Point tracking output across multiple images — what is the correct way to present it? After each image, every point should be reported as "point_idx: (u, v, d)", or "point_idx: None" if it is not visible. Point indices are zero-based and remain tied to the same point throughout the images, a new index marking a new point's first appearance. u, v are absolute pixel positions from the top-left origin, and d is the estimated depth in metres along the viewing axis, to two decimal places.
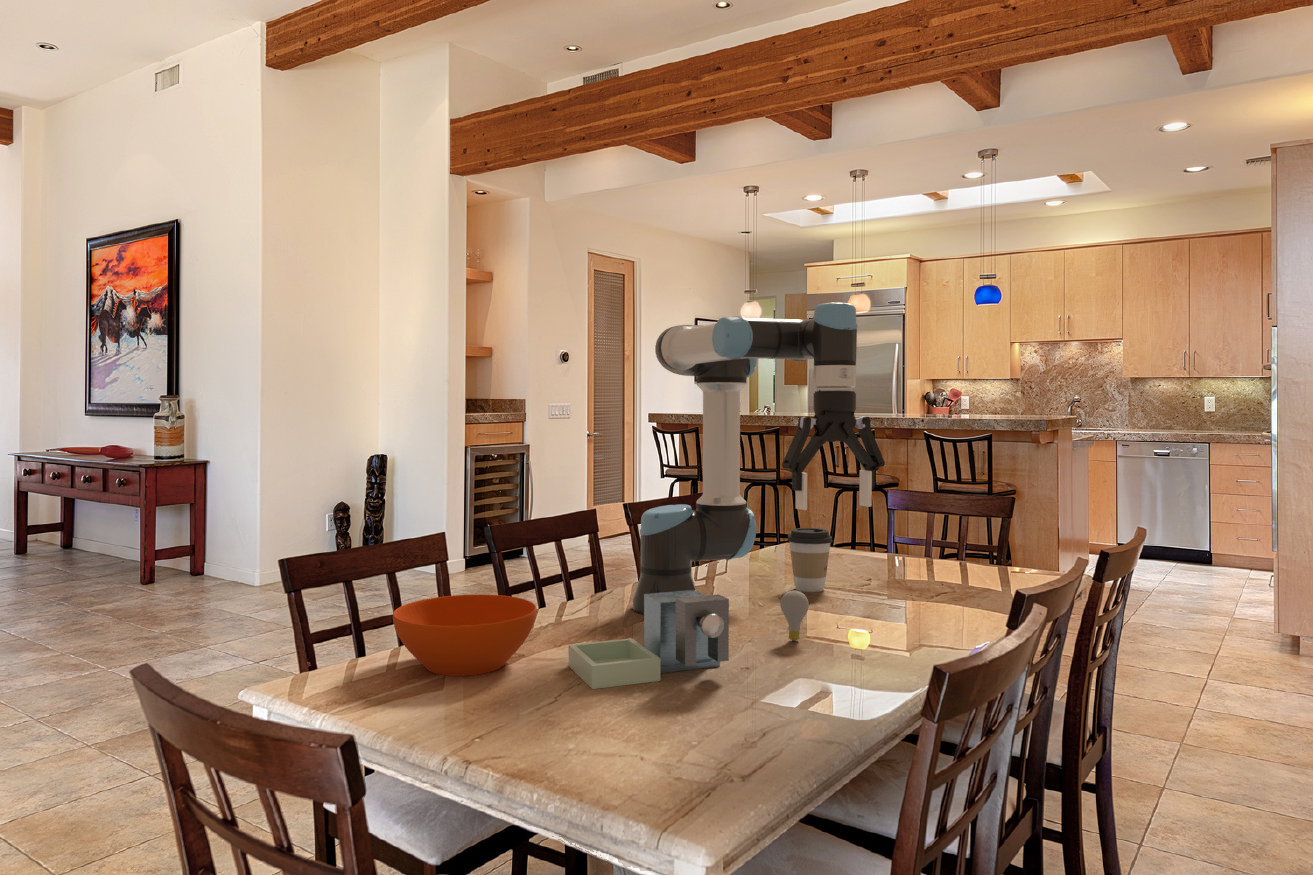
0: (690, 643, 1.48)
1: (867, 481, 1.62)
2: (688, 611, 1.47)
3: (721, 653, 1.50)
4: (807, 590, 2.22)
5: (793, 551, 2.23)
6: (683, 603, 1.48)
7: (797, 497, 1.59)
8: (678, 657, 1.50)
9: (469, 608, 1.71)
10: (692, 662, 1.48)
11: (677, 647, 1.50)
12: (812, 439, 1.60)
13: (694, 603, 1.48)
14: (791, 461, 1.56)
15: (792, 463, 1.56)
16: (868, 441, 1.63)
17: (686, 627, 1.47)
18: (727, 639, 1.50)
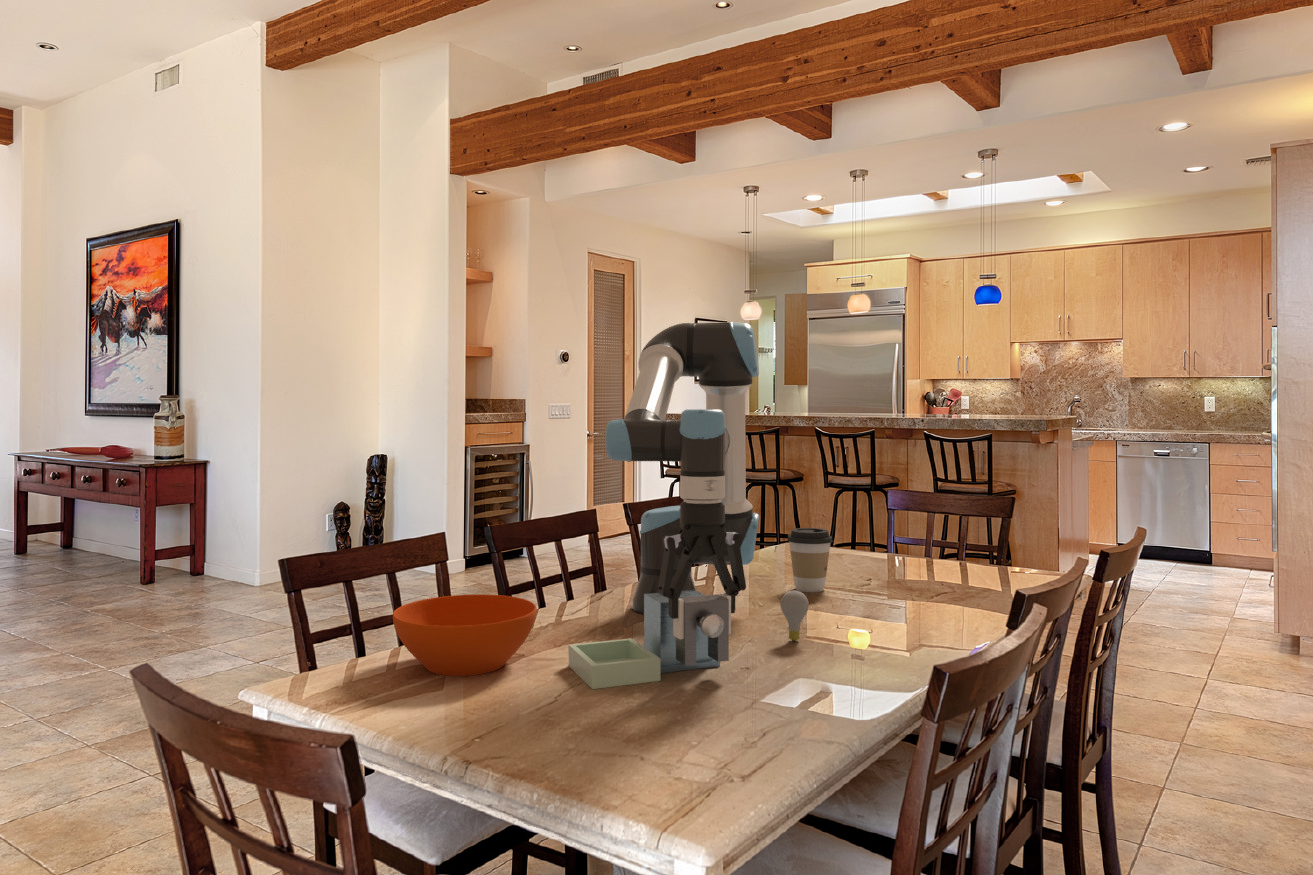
0: (690, 643, 1.48)
1: None
2: (688, 611, 1.47)
3: (721, 653, 1.50)
4: (807, 590, 2.22)
5: (793, 551, 2.23)
6: None
7: (674, 624, 1.50)
8: (678, 657, 1.50)
9: (469, 608, 1.71)
10: (692, 661, 1.48)
11: (677, 647, 1.51)
12: (682, 558, 1.50)
13: (694, 603, 1.48)
14: (664, 589, 1.47)
15: (666, 590, 1.47)
16: (734, 560, 1.52)
17: (686, 627, 1.47)
18: (727, 639, 1.50)
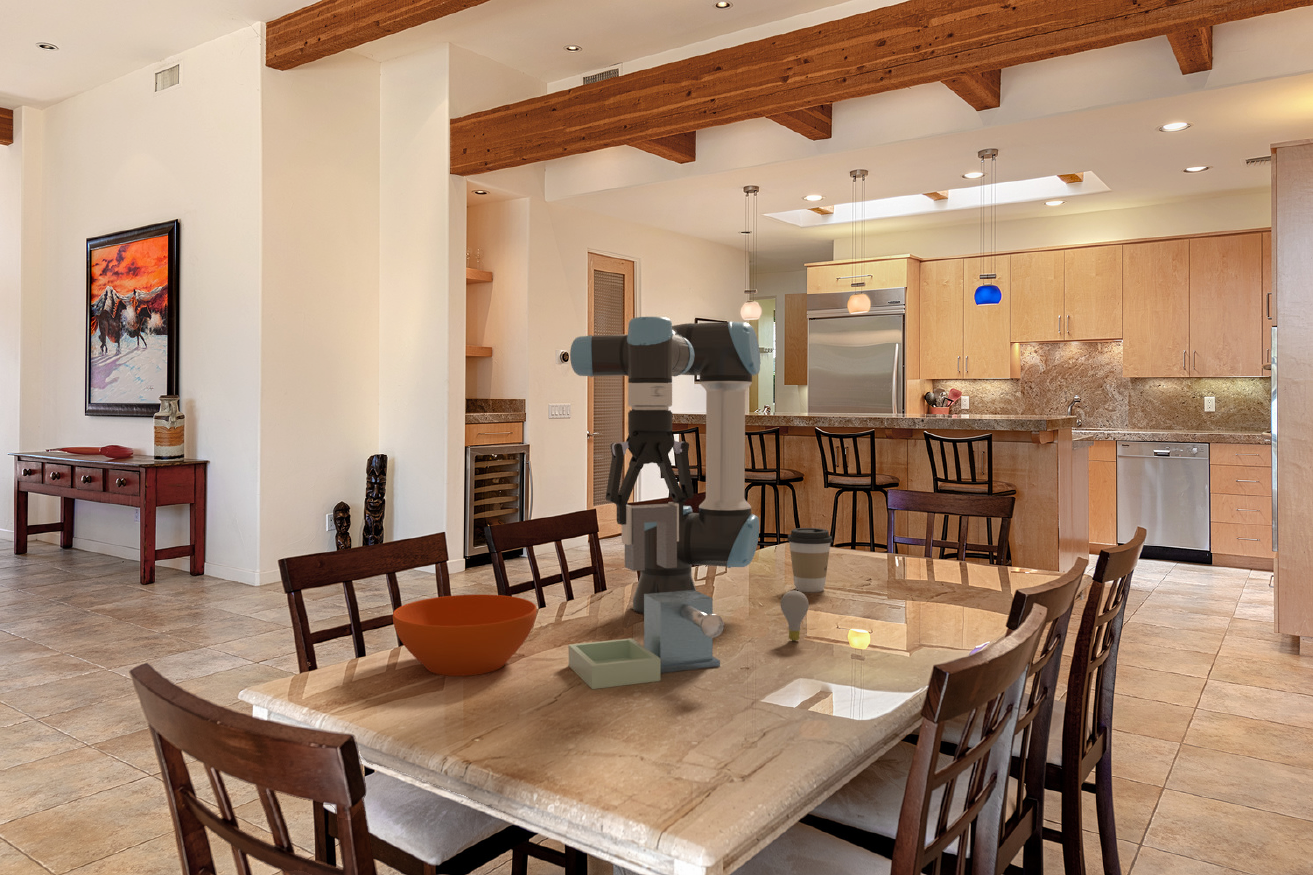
0: (638, 549, 1.49)
1: None
2: (636, 517, 1.49)
3: (669, 560, 1.51)
4: (807, 590, 2.22)
5: (793, 551, 2.23)
6: None
7: (622, 531, 1.51)
8: (627, 564, 1.51)
9: (469, 608, 1.71)
10: (640, 567, 1.49)
11: (626, 554, 1.52)
12: (630, 465, 1.51)
13: (642, 509, 1.49)
14: (612, 494, 1.48)
15: (614, 496, 1.48)
16: (682, 468, 1.53)
17: (634, 533, 1.49)
18: (675, 546, 1.52)
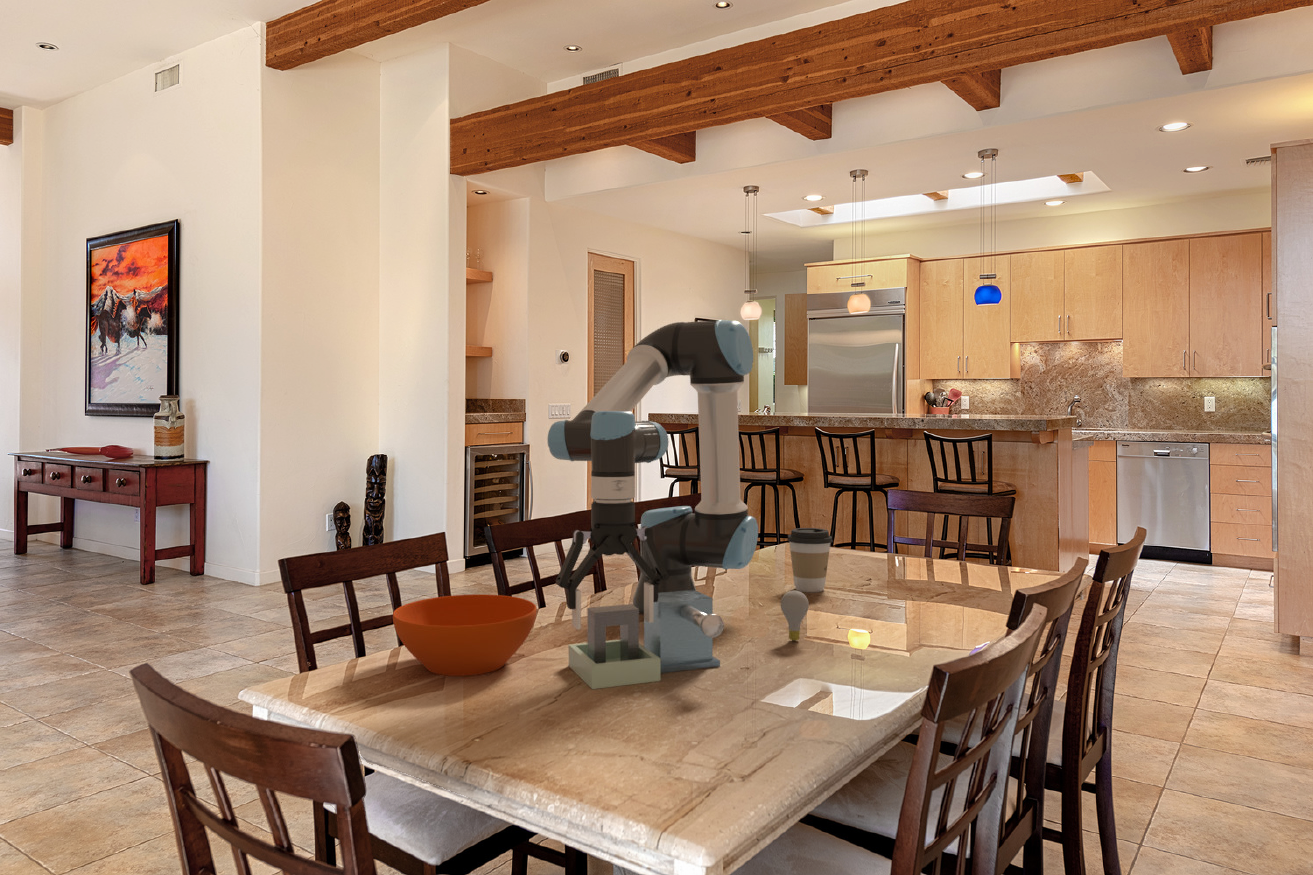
0: (599, 653, 1.51)
1: (649, 596, 1.55)
2: (597, 621, 1.51)
3: None
4: (807, 590, 2.22)
5: (793, 551, 2.23)
6: (593, 613, 1.51)
7: (573, 615, 1.52)
8: None
9: (469, 608, 1.71)
10: None
11: (588, 656, 1.54)
12: (589, 553, 1.53)
13: (603, 613, 1.51)
14: (562, 579, 1.49)
15: (563, 581, 1.49)
16: (651, 553, 1.55)
17: (595, 637, 1.51)
18: (637, 648, 1.53)
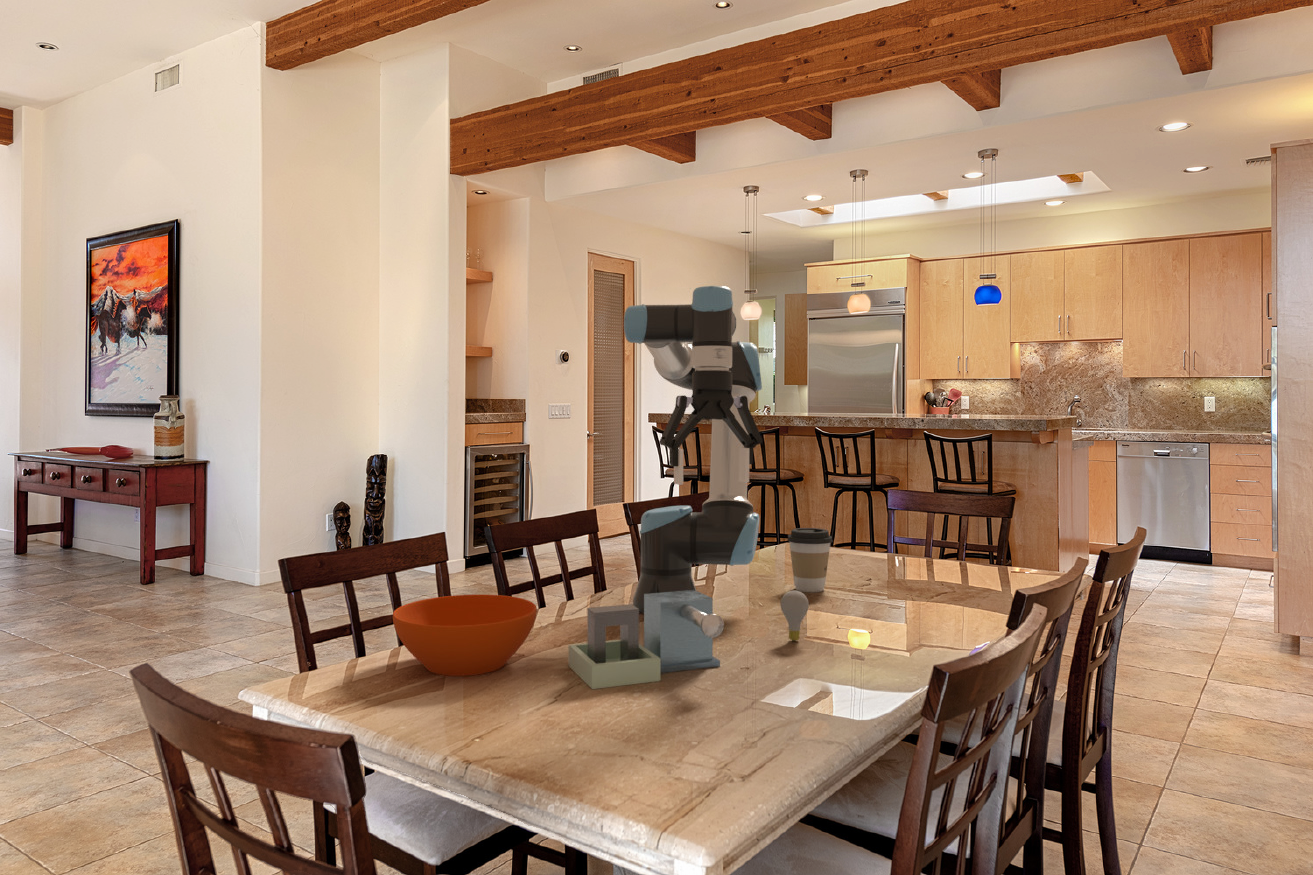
0: (599, 653, 1.51)
1: (745, 458, 1.69)
2: (597, 621, 1.51)
3: None
4: (807, 590, 2.22)
5: (793, 551, 2.23)
6: (593, 613, 1.51)
7: (675, 473, 1.66)
8: None
9: (469, 608, 1.71)
10: None
11: (588, 656, 1.54)
12: (690, 417, 1.66)
13: (603, 613, 1.51)
14: (667, 438, 1.63)
15: (668, 440, 1.63)
16: (746, 419, 1.69)
17: (595, 637, 1.51)
18: (637, 648, 1.53)
